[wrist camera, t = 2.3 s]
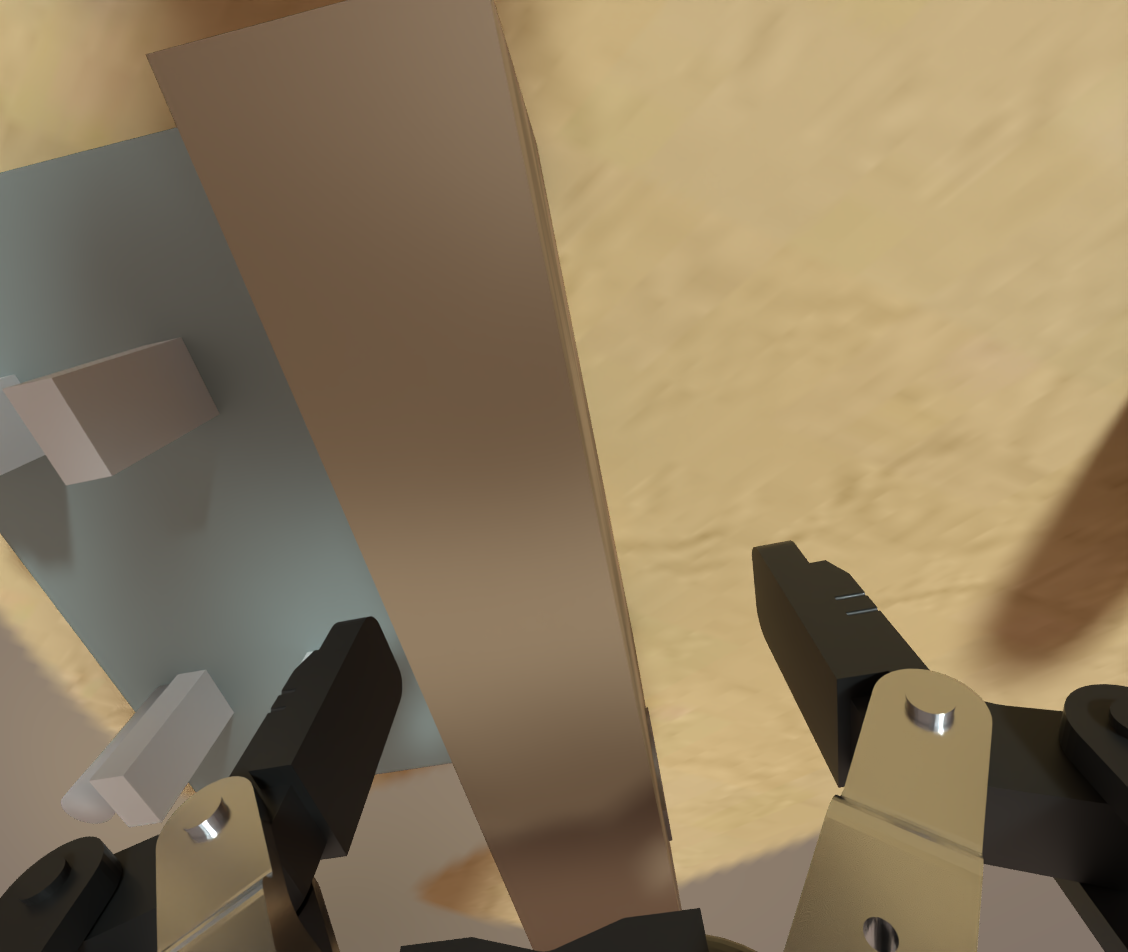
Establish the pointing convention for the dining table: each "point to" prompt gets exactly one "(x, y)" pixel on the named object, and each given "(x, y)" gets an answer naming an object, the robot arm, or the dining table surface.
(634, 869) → the wooden board
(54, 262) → the pegged base plate
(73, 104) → the dining table surface
